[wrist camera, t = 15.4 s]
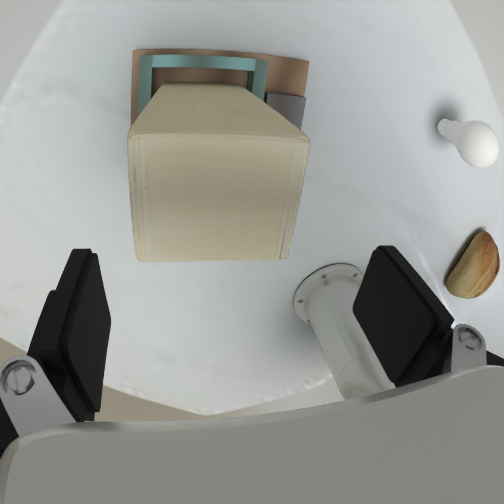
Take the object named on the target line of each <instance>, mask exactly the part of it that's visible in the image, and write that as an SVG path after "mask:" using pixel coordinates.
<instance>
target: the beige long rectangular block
mask: <svg viewBox="0 0 504 504" xmlns="http://www.w3.org/2000/svg"><path fill="white" fill-rule="evenodd" d="M309 145H310V144H309V138H308V136H307V135H306V134H305V133H303V132H302V131H301V130H300V129H298V128H297V127H296V126H294V125H293V124H292V123H291V122H289V121H288V120H287V119H286V118H284V117H283V116H282V115H281V114H279V113H278V112H277V111H275V110H274V109H272V108H271V107H270V106H269V105H267V104H266V103H265V102H263V101H262V100H261V99H259V98H258V97H257V96H255V95H254V94H252V93H251V92H250V91H248V90H247V89H245V88H244V87H243V86H241V85H239V84H230V83H212V82H164V83H163V84H162V85H161V87H160V88H159V89H158V91H157V92H156V93H155V95H154V96H153V97H152V99H151V100H150V102H149V103H148V104H147V105H146V107H145V108H144V109H143V111H142V112H141V114H140V115H139V116H138V118H137V119H136V121H135V122H134V123H133V125H132V126H131V128H130V130H129V132H128V135H127V152H128V175H129V190H130V204H131V216H132V227H133V237H134V245H135V253H136V257H137V259H138V260H139V261H142V262H180V261H230V260H276V259H284V258H286V257H287V256H288V254H289V251H290V246H291V242H292V237H293V232H294V227H295V222H296V217H297V212H298V207H299V202H300V196H301V191H302V186H303V181H304V176H305V170H306V165H307V159H308V152H309Z"/></svg>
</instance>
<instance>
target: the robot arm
mask: <svg viewBox="0 0 504 504" xmlns="http://www.w3.org/2000/svg"><path fill="white" fill-rule="evenodd" d="M293 305H294V310H295V312H296V315H297V316H298V317H299V319H301V320H302V321H303V322H305V323H307V324H311V325H312V327H313V330H314V332H315V334H316V337H317V339H318V341H319V344H320V346H321V348H322V351H323V353H324V355H325V358H326V360H327V362H328V365H329V367H330V370H331V372H332V374H333V377H334V379H335V381H336V384H337V386H338V388H339V391H340V393H341V395H342V396H343V397H344V398H345V399H346V400H344V401H340V402H335V403H330V404H325V405H319V406H314V407H308V408H302V409H296V410H290V411H283V412H275V413H269V414H260V415H252V416H242V417H233V418H222V419H207V420H188V421H160V422H84V421H94V415H95V412H99V411H100V407H101V397H102V387H103V378H104V370H105V362H106V354H107V347H108V340H109V334H110V328H111V316H110V312H109V307H108V303H107V299H106V295H105V290H104V285H103V281H102V276H101V271H100V266H99V260H98V256H97V254H96V253H92V251H91V249H73V250H72V252H71V254H70V257H69V259H68V261H67V264H66V266H65V268H64V271H63V273H62V275H61V278H60V280H59V283H58V285H57V288H56V290H52V291H50V292H49V294H48V296H47V299H46V301H45V304H44V307H43V309H42V312H41V315H40V317H39V320H38V323H37V326H36V329H35V332H34V334H33V337H32V340H31V344H30V347H29V350H28V353H27V356H24V355H20V356H14V357H12V358H10V359H8V360H7V361H5V362H4V363H3V364H2V365H1V367H0V504H504V359H503V358H501V357H499V356H497V355H495V354H493V353H491V352H489V351H487V350H486V344H485V340H484V338H483V336H482V335H481V334H480V333H479V332H478V331H477V330H476V329H475V328H473V327H471V326H470V325H466V324H459V325H456V326H455V327H454V329H452V328H451V327H450V326H451V325H452V323H453V322H454V318H453V317H452V316H451V314H450V313H449V312H448V310H447V309H446V308H445V306H444V305H443V304H442V303H441V301H440V300H439V299H438V298H437V296H436V295H435V294H434V293H433V291H432V290H431V289H430V288H429V286H428V285H427V284H426V283H425V281H424V280H423V279H422V278H421V277H420V275H419V274H418V273H417V272H416V271H415V269H414V268H413V267H412V266H411V265H410V264H409V262H408V261H407V260H406V259H405V258H404V257H403V255H402V254H401V253H400V252H399V251H398V250H397V249H396V247H394V246H378V247H377V248H376V250H374V251H373V253H372V255H371V258H370V261H369V264H368V266H367V269H366V272H365V275H364V276H363V274H362V273H361V271H360V270H359V269H357V268H356V267H354V266H351V265H347V264H336V265H331V266H328V267H325V268H322V269H320V270H318V271H316V272H315V273H313V274H312V275H310V276H309V277H308V278H307V279H306V280H305V281H304V282H303V283H302V284H301V285H300V287H299V288H298V290H297V292H296V293H295V297H294V302H293Z"/></svg>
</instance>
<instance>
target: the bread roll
mask: <svg viewBox="0 0 504 504" xmlns="http://www.w3.org/2000/svg"><path fill="white" fill-rule="evenodd" d="M499 267H500V260H499V254H498V248H497V246H496V244H495V242H494V240H493V239H492V237H491V235H490V234H489V233H487V232H485V231H480V232H479V233H478V234H476V236H475V237H474V238H473V240H472V241H471V243H470V245H469V246H468V248H467V249H466V251H465V253H464V254H463V256H462V257H461V259H460V260H459V262H458V264H457V265H456V266H455V267H454V269H453V270H452V272H451V273H450V275H449V276H448V278H447V281H446V286H447V287H446V288H447V290H448V291H449V292H450V293H451V294H452V295H454V296H456V297H461V298H464V299H465V298H466V299H470V298H475V297H478V296H480V295H481V294H483V293H484V292H485V291H486V290H487V289H488V288H489V287H490V286H491V284H492V283H493V281H494V280H495V278H496V276H497V274H498V271H499Z"/></svg>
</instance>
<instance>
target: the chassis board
mask: <svg viewBox="0 0 504 504" xmlns="http://www.w3.org/2000/svg"><path fill="white" fill-rule="evenodd" d="M308 66H309V61H305V60H299V59H293V58H286V57H279V56H272V55H264V54H255V53H245V52H234V51H220V50H199V49H146V50H133V66H132V91H131V126H132V125H133V123H134V122H135V121H136V119H137V118H138V116H139V115H140V114H141V112H142V111H143V109H144V108H145V107H146V105H147V104H148V103H149V102H150V100H151V99H152V97H153V96H154V95H155V93H156V92H157V91H158V89H159V88H160V87H161V85H162V84H163V83H164V82H212V83H230V84H239V85H241V86H243V87H244V88H245V89H247V90H248V91H250V92H251V93H252V94H254V95H255V96H257V97H258V98H259V99H261V100H262V101H263V102H265V103H266V104H267V105H269V106H270V107H271V108H272V109H274V110H275V111H277V112H278V113H279V114H281V115H282V116H283V117H284V118H286V119H287V120H288V121H289V122H291V123H292V124H293V125H294V126H296V127H297V128H298V129H300V130H301V125H302V119H303V113H304V107H305V101H306V98H305V97H304V92H305V86H306V79H307V73H308Z"/></svg>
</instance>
